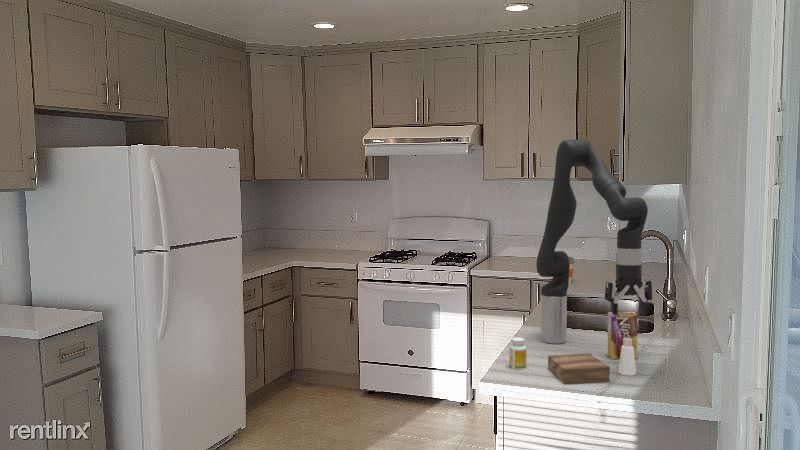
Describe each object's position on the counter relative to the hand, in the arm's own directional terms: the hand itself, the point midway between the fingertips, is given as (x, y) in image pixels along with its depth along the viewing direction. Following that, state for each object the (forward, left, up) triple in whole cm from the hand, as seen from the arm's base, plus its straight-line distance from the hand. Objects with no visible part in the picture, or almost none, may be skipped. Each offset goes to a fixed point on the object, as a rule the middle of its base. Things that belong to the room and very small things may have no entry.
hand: (628, 314), depth 195 cm
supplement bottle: (-10, -32, -19) cm, 38 cm away
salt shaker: (0, 0, -19) cm, 19 cm away
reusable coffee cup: (-146, +34, -19) cm, 151 cm away
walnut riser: (0, -16, -19) cm, 25 cm away
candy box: (-16, +6, -19) cm, 26 cm away
